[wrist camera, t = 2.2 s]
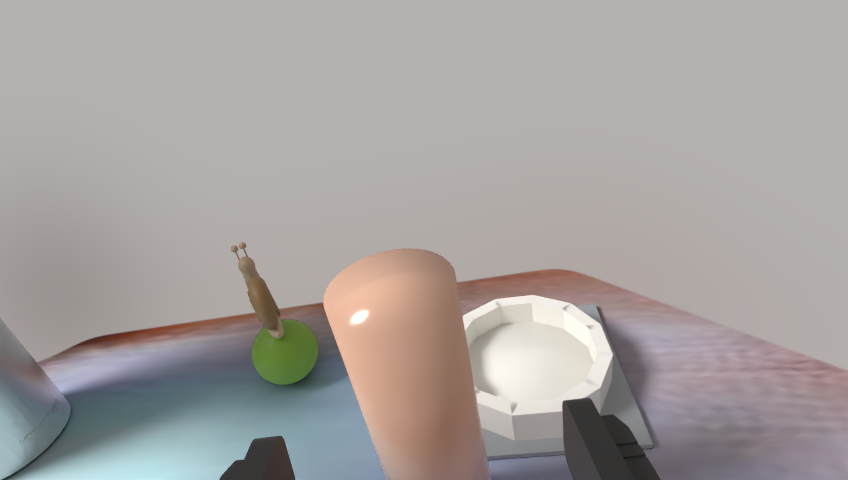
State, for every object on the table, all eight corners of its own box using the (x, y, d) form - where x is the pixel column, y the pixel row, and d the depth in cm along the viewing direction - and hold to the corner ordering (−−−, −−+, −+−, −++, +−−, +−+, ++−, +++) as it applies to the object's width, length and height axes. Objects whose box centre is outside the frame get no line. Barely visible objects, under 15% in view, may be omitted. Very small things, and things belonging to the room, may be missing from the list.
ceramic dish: (450, 445, 33) (444, 421, 32) (449, 327, 43) (444, 305, 42) (631, 431, 31) (633, 405, 30) (585, 312, 42) (585, 289, 40)
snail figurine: (310, 337, 46) (268, 230, 40) (334, 377, 41) (290, 261, 35) (255, 364, 44) (202, 256, 38) (273, 409, 39) (215, 293, 33)
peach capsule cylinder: (403, 577, 27) (309, 338, 18) (410, 483, 31) (337, 256, 22) (502, 572, 26) (456, 322, 17) (494, 477, 31) (454, 241, 22)
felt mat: (436, 463, 32) (435, 460, 32) (439, 324, 44) (438, 321, 44) (652, 448, 31) (653, 444, 30) (594, 307, 43) (594, 304, 42)
